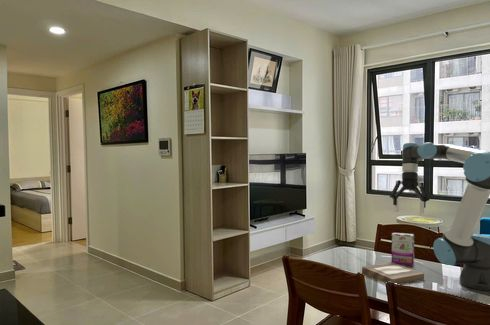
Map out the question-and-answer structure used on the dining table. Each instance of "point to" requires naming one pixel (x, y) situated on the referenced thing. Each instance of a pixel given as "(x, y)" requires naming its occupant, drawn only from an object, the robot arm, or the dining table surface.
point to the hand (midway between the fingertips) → (409, 213)
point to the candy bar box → (403, 248)
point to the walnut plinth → (393, 273)
